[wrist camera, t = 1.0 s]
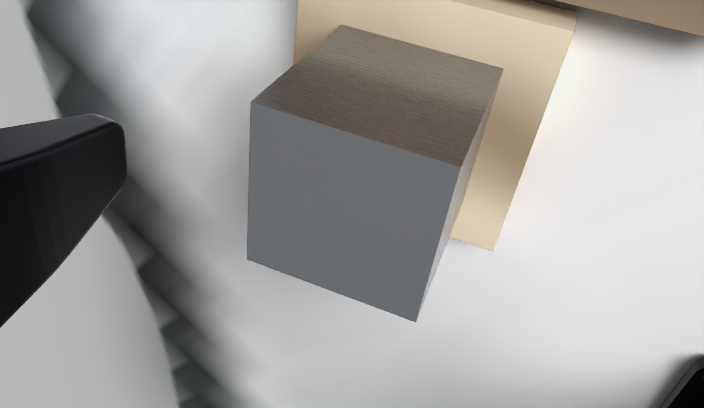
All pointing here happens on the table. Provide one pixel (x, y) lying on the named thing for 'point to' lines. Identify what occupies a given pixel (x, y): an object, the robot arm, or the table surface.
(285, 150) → the grey angular block
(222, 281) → the table surface
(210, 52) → the table surface
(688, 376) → the robot arm
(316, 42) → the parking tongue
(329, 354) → the table surface
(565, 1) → the rack board
